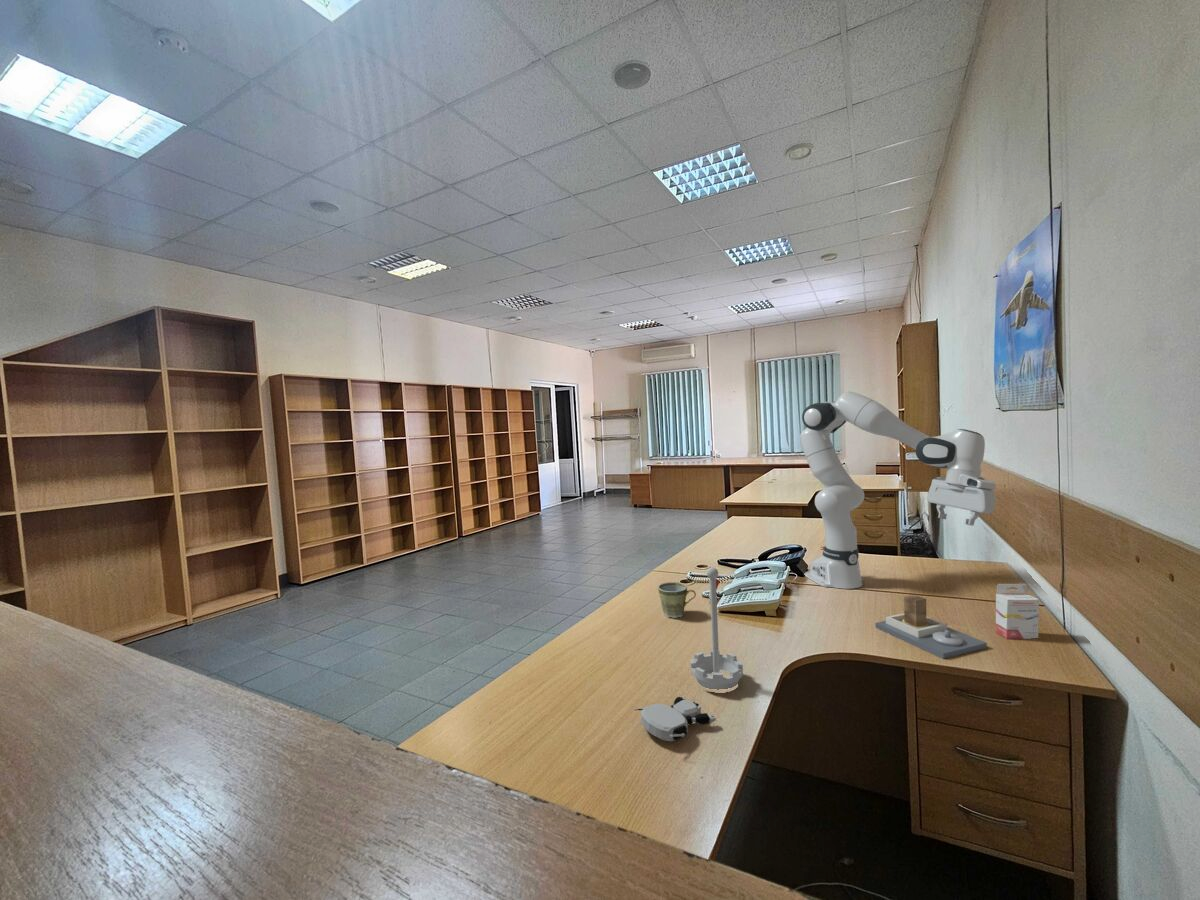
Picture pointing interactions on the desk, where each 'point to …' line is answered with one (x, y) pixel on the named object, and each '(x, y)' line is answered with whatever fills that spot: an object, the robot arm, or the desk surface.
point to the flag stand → (716, 652)
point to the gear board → (932, 637)
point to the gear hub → (915, 611)
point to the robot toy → (672, 718)
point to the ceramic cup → (673, 598)
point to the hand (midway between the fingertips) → (955, 521)
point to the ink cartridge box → (1016, 612)
